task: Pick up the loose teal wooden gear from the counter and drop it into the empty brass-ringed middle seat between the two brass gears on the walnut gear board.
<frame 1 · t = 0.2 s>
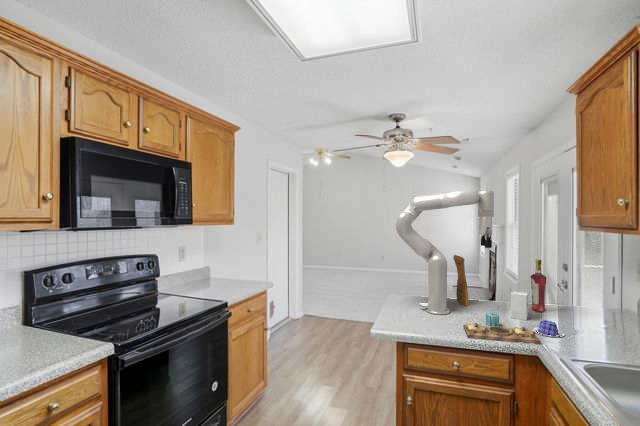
hand: (486, 246, 179), 36 cm above the countertop, tool pointing down, fingers open, 9 cm apart
supplement box: (519, 317, 176), on the countertop
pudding: (548, 334, 154), on the countertop
liquor: (538, 311, 186), on the countertop
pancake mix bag: (461, 302, 204), on the countertop
gear board: (499, 335, 151), on the countertop
loose gear: (492, 324, 165), on the countertop
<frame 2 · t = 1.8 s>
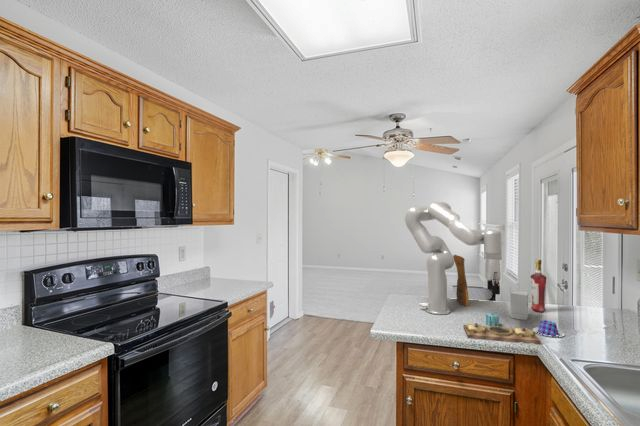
hand: (493, 291, 164), 16 cm above the countertop, tool pointing down, fingers open, 9 cm apart
nothing on the countertop moved.
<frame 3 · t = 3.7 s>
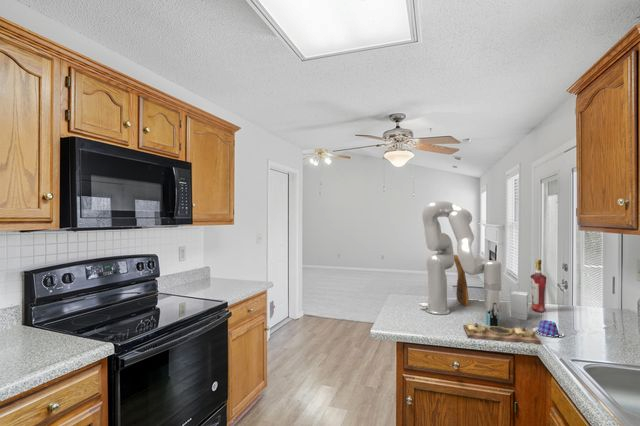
hand: (492, 323, 165), 1 cm above the countertop, tool pointing down, fingers closed on loose gear, 5 cm apart
loose gear: (492, 325, 165), on the countertop, touching gripper
everything else where it was.
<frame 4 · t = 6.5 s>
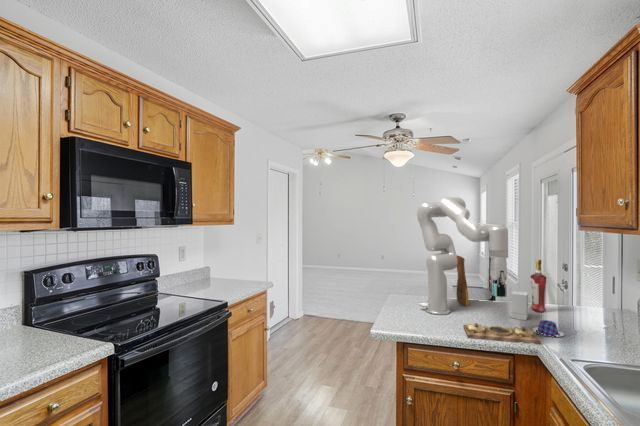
hand: (499, 294, 153), 18 cm above the countertop, tool pointing down, fingers closed on loose gear, 5 cm apart
loose gear: (499, 295, 153), point 17 cm above the countertop, touching gripper
everything else where it was.
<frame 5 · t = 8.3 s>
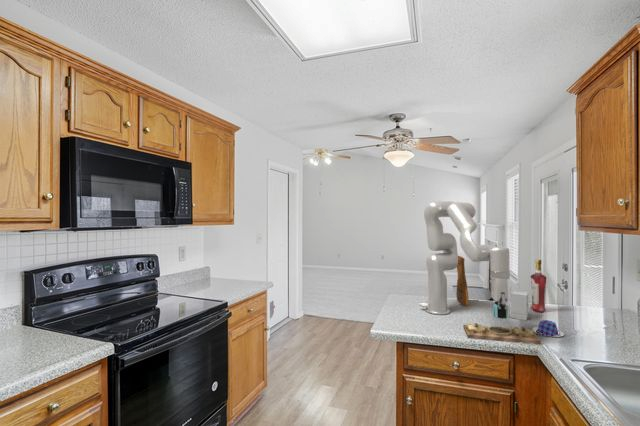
hand: (500, 315, 151), 9 cm above the countertop, tool pointing down, fingers closed on loose gear, 5 cm apart
loose gear: (500, 316, 151), point 8 cm above the countertop, touching gripper
everything else where it was.
when the fingers open (4 cm above the countertop, at t = 9.7 s): loose gear drops 2 cm, resting on gear board.
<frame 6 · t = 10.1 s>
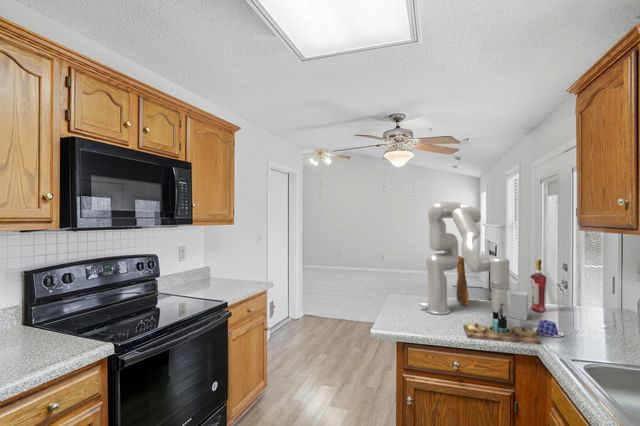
hand: (499, 324, 151), 5 cm above the countertop, tool pointing down, fingers open, 9 cm apart
loose gear: (499, 331, 151), point 2 cm above the countertop, touching gear board
everything else where it was.
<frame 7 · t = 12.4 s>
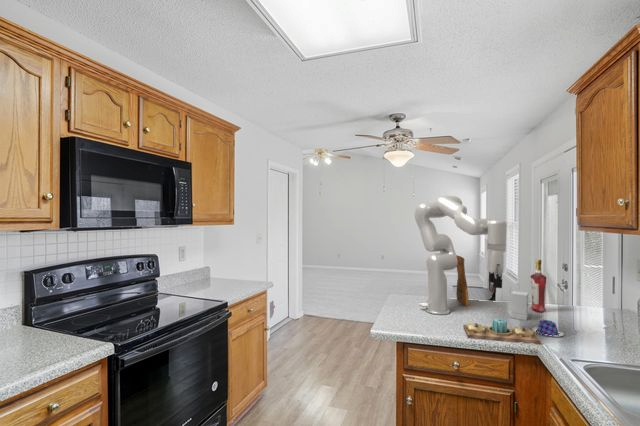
hand: (495, 285, 155), 22 cm above the countertop, tool pointing down, fingers open, 9 cm apart
nothing on the countertop moved.
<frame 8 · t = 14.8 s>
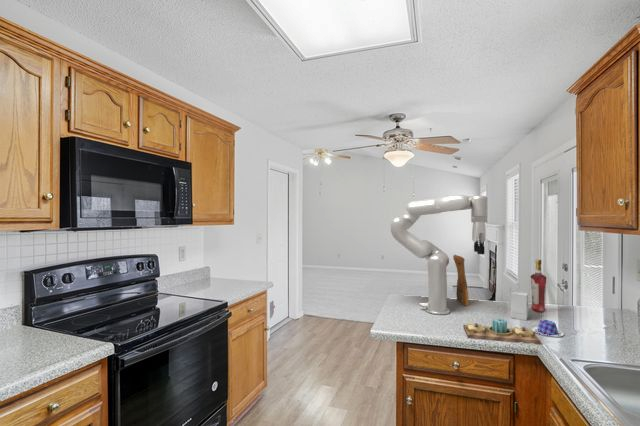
hand: (479, 252, 176), 33 cm above the countertop, tool pointing down, fingers open, 9 cm apart
at the end: loose gear 0.0 cm off-centre on the gear board, point 1.7 cm above the gear board's base; loose gear tilted 0°; the gripper is holding nothing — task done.
